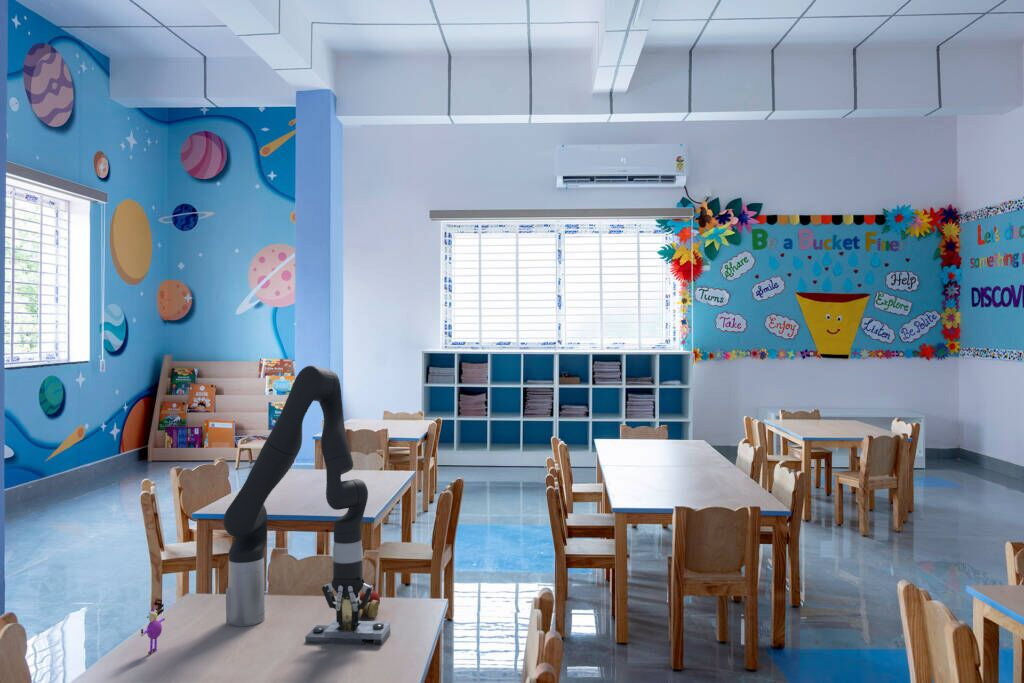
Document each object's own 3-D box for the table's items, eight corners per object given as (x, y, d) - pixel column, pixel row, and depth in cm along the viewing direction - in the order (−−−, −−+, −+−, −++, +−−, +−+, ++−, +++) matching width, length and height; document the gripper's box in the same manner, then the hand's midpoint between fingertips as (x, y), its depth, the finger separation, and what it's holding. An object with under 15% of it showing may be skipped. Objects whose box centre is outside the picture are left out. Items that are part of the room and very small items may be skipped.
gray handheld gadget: (305, 642, 196) (305, 628, 196) (317, 630, 204) (316, 617, 204) (381, 645, 194) (381, 631, 194) (390, 633, 202) (390, 619, 202)
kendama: (366, 637, 203) (388, 604, 221) (360, 614, 203) (383, 583, 220) (339, 640, 205) (363, 607, 222) (333, 618, 204) (358, 586, 222)
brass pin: (339, 630, 197) (339, 599, 197) (344, 625, 201) (343, 595, 201) (352, 631, 197) (352, 600, 197) (356, 626, 200) (356, 595, 200)
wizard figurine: (159, 643, 196) (159, 596, 196) (171, 643, 196) (171, 596, 196) (135, 662, 185) (135, 612, 185) (148, 662, 185) (148, 612, 185)
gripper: (316, 561, 196) (316, 628, 196) (369, 562, 194) (370, 630, 194) (326, 553, 203) (327, 618, 204) (378, 554, 202) (378, 620, 202)
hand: (348, 623), depth 199 cm, fingers closed on brass pin, 3 cm apart
